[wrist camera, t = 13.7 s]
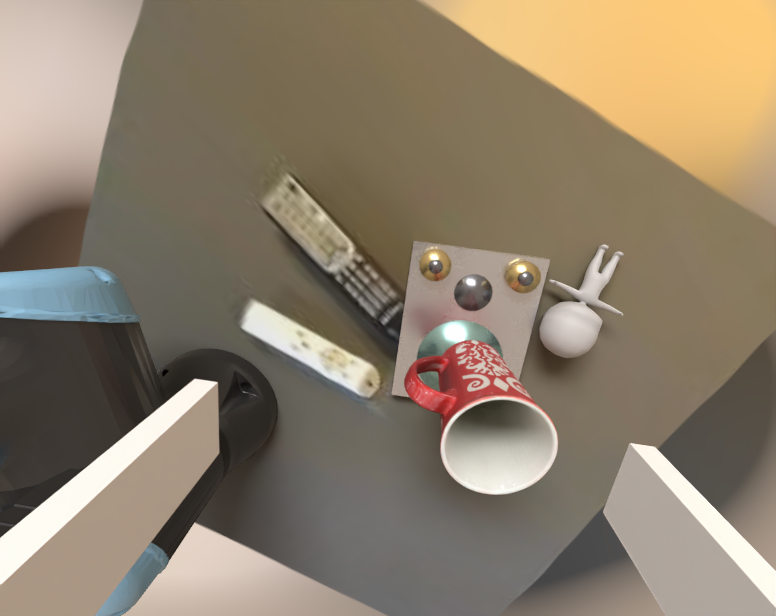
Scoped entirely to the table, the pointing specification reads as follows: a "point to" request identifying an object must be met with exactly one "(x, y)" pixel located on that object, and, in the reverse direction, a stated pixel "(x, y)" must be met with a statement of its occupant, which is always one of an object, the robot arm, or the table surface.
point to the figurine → (578, 312)
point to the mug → (485, 419)
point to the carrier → (467, 305)
